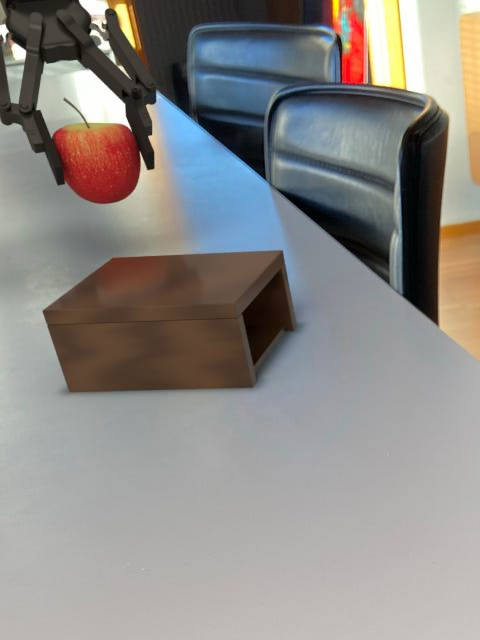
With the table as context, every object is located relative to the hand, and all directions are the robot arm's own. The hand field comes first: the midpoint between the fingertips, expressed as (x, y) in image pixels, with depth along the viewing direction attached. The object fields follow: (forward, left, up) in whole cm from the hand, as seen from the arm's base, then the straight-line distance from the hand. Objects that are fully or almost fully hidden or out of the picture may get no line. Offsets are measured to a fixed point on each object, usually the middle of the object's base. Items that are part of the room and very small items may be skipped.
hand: (106, 168), depth 103 cm
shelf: (+14, -23, -11) cm, 29 cm away
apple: (-2, +3, -4) cm, 5 cm away
